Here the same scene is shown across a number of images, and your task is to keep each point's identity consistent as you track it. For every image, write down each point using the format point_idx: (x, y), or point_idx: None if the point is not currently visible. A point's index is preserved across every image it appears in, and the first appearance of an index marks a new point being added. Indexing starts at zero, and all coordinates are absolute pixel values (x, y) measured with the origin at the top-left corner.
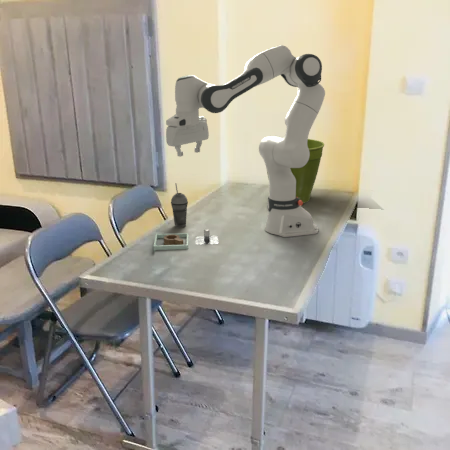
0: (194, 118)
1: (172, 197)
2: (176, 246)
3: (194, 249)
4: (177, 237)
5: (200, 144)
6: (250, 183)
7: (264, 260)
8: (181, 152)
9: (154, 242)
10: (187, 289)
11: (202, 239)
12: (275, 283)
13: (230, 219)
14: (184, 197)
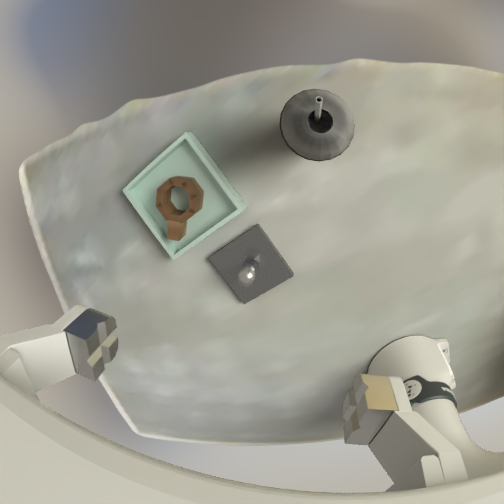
0: None
1: (296, 100)
2: (156, 235)
3: (196, 261)
4: (182, 216)
5: (393, 480)
6: None
7: (231, 393)
8: (76, 369)
9: (139, 174)
10: None
11: (247, 254)
12: (172, 416)
13: (441, 230)
14: (320, 152)
